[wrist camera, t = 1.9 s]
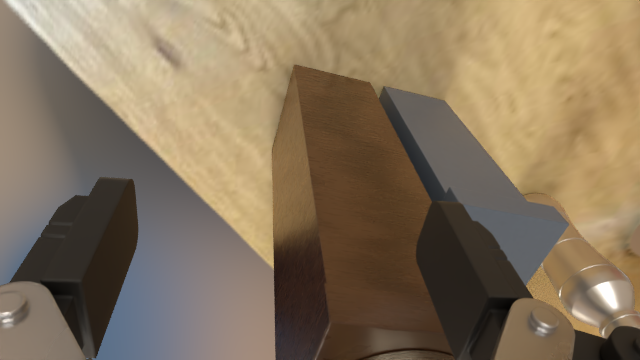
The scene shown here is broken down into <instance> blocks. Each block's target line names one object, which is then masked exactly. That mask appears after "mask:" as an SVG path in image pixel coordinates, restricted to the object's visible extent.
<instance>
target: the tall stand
mask: <svg viewBox="0 0 640 360" xmlns="http://www.w3.org/2000/svg"><path fill="white" fill-rule="evenodd" d="M272 180H273V237H274V292H275V293H274V294H275V349H276V350H275V351H276V360H362V359H365V358H368V357H372V356H375V355H379V354H384V353H389V352H395V351H403V350H428V351H435V352H441V353H445V354H449V355H452V356H453V354H452V351H451V349H450V346H449V344H448V341H447V338H446V336H445V333H444V331H443V328H442V326H441V323H440V320H439V318H438V315H437V313H436V310H435V308H434V305H433V303H432V300H431V297H430V295H429V292H428V290H427V287H426V285H425V282H424V280H423V277H422V274H421V272H420V269H419V267H418V264H417V260H416V246H417V241H418V238H419V235H420V233H421V230H422V227H423V224H424V221H425V218H426V215H427V212H428V209H429V207H430V205H431V203H432V201H431V199H430V197H429V195H428V193H427V191H426V189H425V187H424V186H423V184H422V182H421V180H420V178H419V176H418V174H417V172H416V170H415V168H414V166H413V164H412V162H411V161H410V159H409V157H408V155H407V153H406V151H405V149H404V147H403V145H402V143H401V141H400V139H399V137H398V135H397V134H396V132H395V130H394V128H393V126H392V124H391V122H390V120H389V118H388V116H387V114H386V112H385V110H384V109H383V107H382V105H381V103H380V101H379V99H378V97H377V95H376V93H375V91H374V89H373V87H372V85H371V84H370V83H369V82H365V81H361V80H357V79H353V78H348V77H344V76H340V75H336V74H332V73H328V72H324V71H319V70H315V69H311V68H307V67H303V66H299V65H294V66H293V70H292V74H291V78H290V82H289V86H288V90H287V94H286V98H285V102H284V106H283V110H282V114H281V118H280V122H279V125H278V129H277V133H276V137H275V141H274V145H273V149H272Z"/></svg>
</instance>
